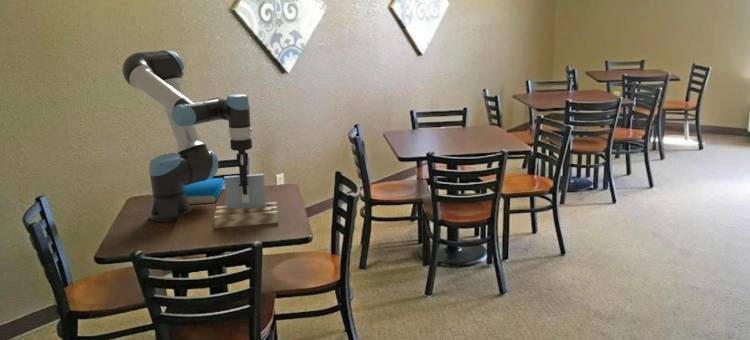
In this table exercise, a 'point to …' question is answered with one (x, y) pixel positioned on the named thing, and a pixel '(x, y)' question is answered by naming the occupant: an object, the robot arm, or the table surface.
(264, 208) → the offcut right
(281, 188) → the table surface
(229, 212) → the offcut left
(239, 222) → the rack
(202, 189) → the book
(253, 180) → the pale blue panel
